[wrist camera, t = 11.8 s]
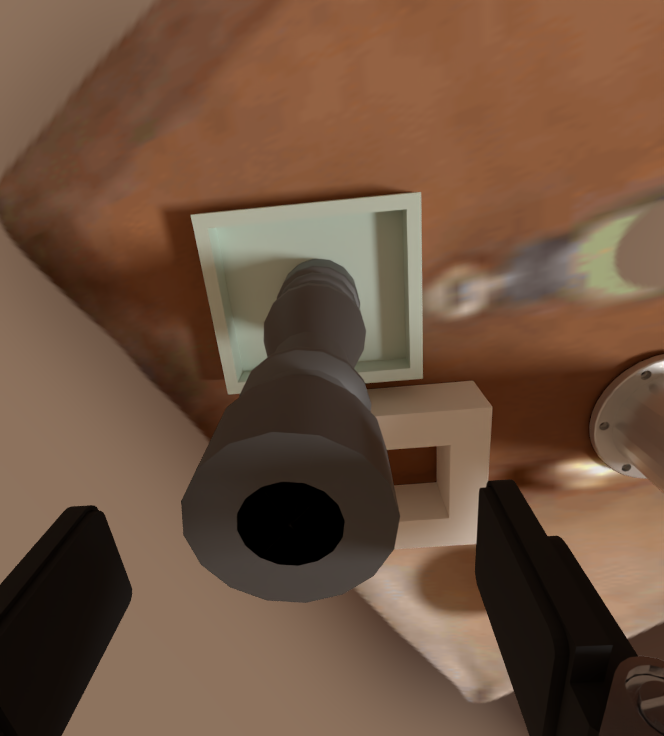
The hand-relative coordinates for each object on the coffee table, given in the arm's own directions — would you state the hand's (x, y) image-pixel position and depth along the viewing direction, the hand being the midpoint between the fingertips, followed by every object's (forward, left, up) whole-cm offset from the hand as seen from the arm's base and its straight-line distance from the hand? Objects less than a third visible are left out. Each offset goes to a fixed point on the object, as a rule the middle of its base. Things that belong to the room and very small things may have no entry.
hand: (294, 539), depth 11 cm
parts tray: (0, 0, -26) cm, 26 cm away
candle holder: (0, 0, -26) cm, 26 cm away
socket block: (-6, +16, -26) cm, 31 cm away
